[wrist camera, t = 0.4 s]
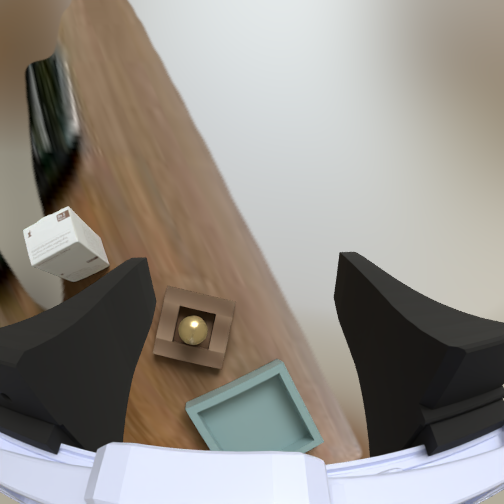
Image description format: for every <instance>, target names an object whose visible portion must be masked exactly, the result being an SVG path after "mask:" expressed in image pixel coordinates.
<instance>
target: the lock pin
mask: <svg viewBox="0 0 504 504" xmlns="http://www.w3.org/2000/svg"><path fill="white" fill-rule="evenodd" d="M178 331H179V336H180V338H181V339H182V340H183V341H184V342H185V343H187V344H190V345H197V344H200V343H201V342H203V341H204V340H205V338H206V336H207V332H208V330H207V325H206V323H205V322H204V320H203V319H202V318H201V317H199V316H189V317H186V318H185V319H183V320H182V321H181V323H180V325H179V329H178Z"/></svg>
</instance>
